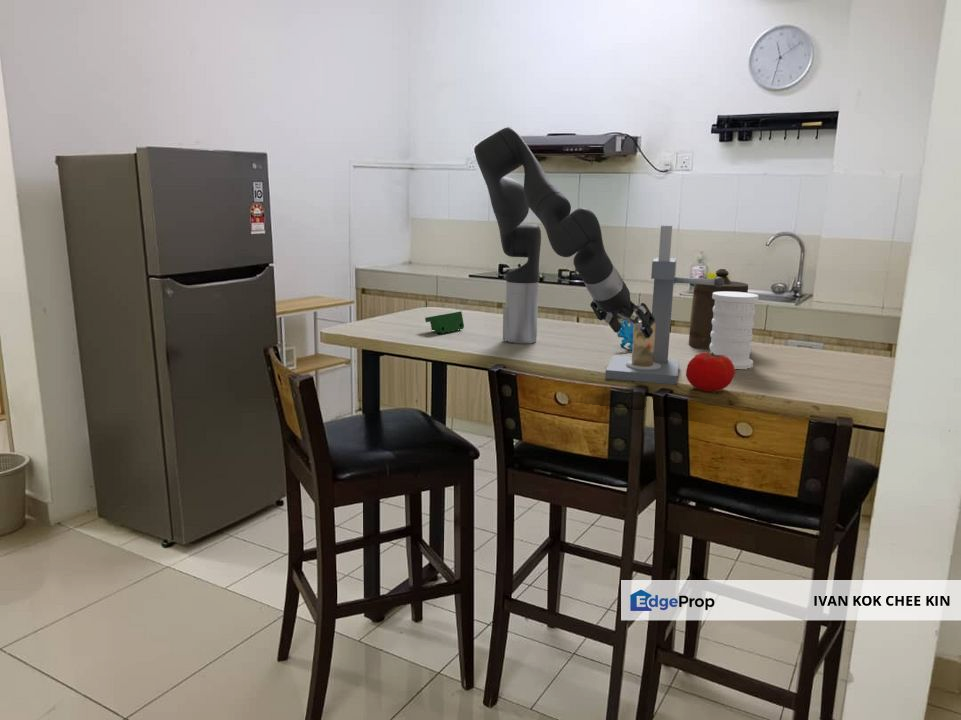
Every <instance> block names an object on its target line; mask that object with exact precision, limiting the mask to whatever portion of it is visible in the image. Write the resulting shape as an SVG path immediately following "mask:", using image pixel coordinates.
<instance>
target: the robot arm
mask: <svg viewBox="0 0 961 720" xmlns="http://www.w3.org/2000/svg"><path fill="white" fill-rule="evenodd" d="M474 156H475V158H476V162H477V166H478V167H479V170H480V172H481V175H482V177H483V180H484V182H485V185H486V187H487V191H488V194H489V199H490V203H491V208H492V210H493V213H494V216H495V219H496V223H497V225H498V230H499V237H500V243H501V248H502V251H503V253H504V255H506V256H508V257H510V258H527V261H526V262H525V263H524V264H523V265H521V266H519V267H516V268H513V269H509V270H507V272H506V276H505V280H506V281H505V307H504V308H503V313H502V341H503V340H506V341H509V342H508V343H511V342H514V343H513V344H532V343H536V342H537V336H538V333H537V332H538V306H539V305H538V303H539V277H540V276H539V273H540V255H541V246H542V242H541V241H542V231H541V227H540V226H539V225H538V224H533V223H532V224H531V223H530V224H529V223H526V224H525V223H523V222H524V221H525V219H526V218H527V216H528V215H529V211H530V210H531V211H532V213H533V214H534V215H535V216H536V218H537V219H538V220H539V221H540V223H541V224H542V226H543V227H544V230H545V233H546V236H547V238H548V241H549V244H550V246H551V249H552V250H553V252H554V253H555V254H556V255H558V256H560V257H562V258H570V257H572V256H574V255H575V256H574V258H573V260H572V261H573V262H572V263H573V266H574V268H575V270H576V272H577V274H578V275H579V276H580V278H581V280H582V281H583V283H584V286H585V287H586V290H587V291H588V293H589V295H590V296H591V298H592V299H593V300H592V302H591V303H590V307H591V309H592V311H593V313H594V314H595V316H596V318H597V319H598V320H599V321H603V320H604V322H605V323H607V324H608V325H609V326H610V328H611V330H612V331H613V332H614V333H617V334H618V333H619V330H620V329H621V324H620V322H621V321H619V320H624V321H625V320H626V321H628V322H629V324H632V325H634V324H635V325H637V326H638V327H639V328H640V330H641V331H642V333H643V335H644V337H645V338H648V339H649V338H650V336H651V335H652V333H653V330H652V328H651V326H652V324H653V322H654V321H655V318H654V317H653V315H652V311H651V310H650V309H649V307H648V305H647V304H646V303H644V302H641V303H640V305H636V304H635V302H633V301H632V300H631V293H630V289H629V287H628V286H627V285H626V282H625V281H624V279H623V277H622V276H621V274H620V272H619V270H618V269H617V268H616V266H615V265H614V264H613V263H612V261H611V259H610V256H609V255H608V254H607V252H606V250H605V246H604V240H603V236H602V235H603V234H602V230H601V229H602V228H601V225H600V221H599V219H598V217H597V216H596V214H595V213H594V212H593V211H592V210H590V209H589V208H585V207H579V208H577V209H575V210H574V211H571V210H572V205H571V203H570V201H569V199H568V198H567V197H566V196H565V194H564V193H562V192H561V190H560V189H558V187H557V186H556V185H555V184H554V182H552V181H551V179H550V177H548V175H547V173H546V172H545V170H544V169H543V167H542V165H541V164H540V163H539V161H538V159H537V158H536V157H535V154H534V153H533V152H532V151H531V149H530V147H529V146H528V144H527V143H526V141H525V140H524V139H523V137H522V136H521V135H520V133H518V131H516V130H515V129H514V128H513V127H509V126H507V127H504V128H502V129H499V130H498V131H497V132H494V133H493V134H491V135H489V136H488V137H486V138H485V139H483V140H482V141H480V142H479V143H478V144H477V145H476V147H475V149H474ZM521 166H522V167H523V169H524V170H523V171H524V176H523V177H524V179H523V184H522V183H521V182H519V181H518V180H516V179H514V178H510V177H507V175H509V174H510V173H512V172H513V171H515V170H517V169H519V168H520V167H521ZM634 313H635V315H634ZM633 315H634V317H633V318H632V316H633ZM639 319H640V320H639ZM639 321H642V323H640V322H639ZM506 341H505V342H506Z"/></svg>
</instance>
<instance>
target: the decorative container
mask: <svg viewBox="0 0 961 720" xmlns="http://www.w3.org/2000/svg"><path fill="white" fill-rule="evenodd" d="M712 298H713V299H714V300H715V305H714V307H713V313H714V316H713V319H712V325H713V327H712V331H711V334H710V335H711V343H710V346H709V348H710V350H709V351H710V352H709V353H712V352H713V353H714V354H715V355H724V356H726V357H728V358H729V359H730V360H731V361H732V363H733V365H734V369H745V370H748V369H747V368H750V369H752V368H753V367H754V361H753V360H752V359H751V358H750V356H751V355H750V354H751V352H752V345H751V344H752V340H753V338H754V336H753V335H754V334H753V328H754V326H755V323H754V322H755V321H754V317H755V314H756V308H755V305H756V302H758V301H759V294H756V293H752V292H747V293H745V292H729V291H723V292H713V295H712ZM751 367H752V368H751Z"/></svg>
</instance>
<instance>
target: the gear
mask: <svg viewBox="0 0 961 720" xmlns="http://www.w3.org/2000/svg"><path fill="white" fill-rule="evenodd" d="M619 322H620V324H621V329H620V330H619V332H618V333H617V334H616V335H617V337H618V338H622V340H621V343H620V344H619V346H620V347H621V346H623V347H625V346H626V345H627V344H628V343H629V344H628V346H627V348H628V349H630V350H632V349H633V333H634V325H632V324H630V323H629V322H628V321H626V320H624V321H619ZM629 324H630V325H629Z"/></svg>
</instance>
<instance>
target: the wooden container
mask: <svg viewBox="0 0 961 720" xmlns="http://www.w3.org/2000/svg"><path fill="white" fill-rule="evenodd" d="M729 273H730V272H729V270H726V268H719V269H717V270H716V271H715V275H716V276H715V277H714V278H713V279H715V278H717V277H721V278H723V280H724V284H723V286H721V287H716V286H715V285H706V284H693V294H692V301H691V311H690V318H689V319H690V320H689V334H688V345H689V346H690V347H692V348H696V347H697V349H700V348H701V350H706V349H707V351H710V348H709V346H710V343H711V335H710V334H711V331H712V327H713V325H712V319H713V316H714V313H713V307H714V305H715V300H714V299H713V298H712V295H713V292H723V291H729V292H745V293H749V284H748V283H746V282H740V281H734V280H730V279H729V278H728V276H729V275H730V274H729Z"/></svg>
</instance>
